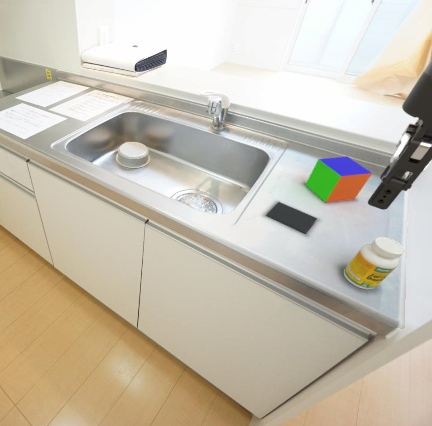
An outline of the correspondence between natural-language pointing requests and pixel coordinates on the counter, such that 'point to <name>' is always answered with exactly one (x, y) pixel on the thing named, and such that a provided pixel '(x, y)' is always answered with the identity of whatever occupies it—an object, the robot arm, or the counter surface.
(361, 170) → the cube
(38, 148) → the counter surface
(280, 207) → the mat
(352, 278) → the supplement bottle
